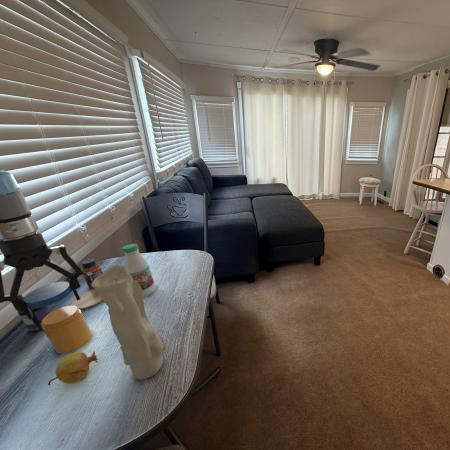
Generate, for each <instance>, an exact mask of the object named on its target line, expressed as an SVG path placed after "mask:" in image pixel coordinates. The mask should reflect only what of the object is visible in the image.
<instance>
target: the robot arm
mask: <svg viewBox="0 0 450 450" xmlns="http://www.w3.org/2000/svg"><path fill="white" fill-rule="evenodd" d="M39 228H40V227H39V226H38V223H37V222H36V219H35V217H34V215H33V213H32V211H31V208H30V207H29V204H28V202H27V200H26V198H25V196H24V194H23V192H22V189H21V186H20V184H19V183H18V182H17V181H16V179H15V176H14V175H13V173H11V172H10V171H7V170H0V252H1V254H2V256H3V260H0V304H2V303H4V302H9V303H11V304H12V306H13V308H14V309H15V311H17V312H18V311H19V310H21V309H23V310H24V312H25V313H26V315H27V317H28V319H29V320H30V319H33V314H32V312H31V310H30V309H29V308H28V307H27V306H26V304H25V302H24V298H23V297H24V296H23V295H22V294H19V292H20V289H21V284H22V280H23V277H24V275H25V271H26V272H28V271H31V270H34V269H36V268H41V267H44V266H46V267H47V268H51V269H52V270H54V271H55V272H58V273H59V274H61V275H63V276H65V277H66V280H67V282H68V283H69V284H70V286H71V288H72V293H73V295H74V297H75V298H76V299H77V301H78V300H80V297H79V296H80V294H79V293H78V290H77V289H79V288H81V284H80V282H79V280H78V278H79V276H82V275H83V273H84V272H83V271H82V267H80V266H79V265H78V263H77V262H76V261H75V260H74V259H73V258H72V257H71V255H70V254H68V252H67V248H66V246H65V245H64V244H59V245H56V246H53V247H51V246H48V244H47V242H46V240H45V239H44V236H43V234H42V232H41V231H40V230H39ZM52 253H55V255H61V257H62V259H63V260H64V261H65V262H66V263H67V264H68V265H69V266H70V267H71V268H72V269H73V270H74V272H73V271H71V270H70V269H68V268H66V267H65V266H63V265H61V264H59V263H58V262H56V261H54V260H53V259H51V258H50V257H51V255H52ZM5 266H8V267H11V268H14V269H15V272H14V276H13V279H12V283H11V287H10V291H9V293H8V294H6V293H5V288H4V281H3V273H2V272H3V271H4V269H5Z"/></svg>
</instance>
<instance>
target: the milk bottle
mask: <svg viewBox="0 0 450 450" xmlns="http://www.w3.org/2000/svg"><path fill="white" fill-rule="evenodd" d="M122 252H123V254H124V255H125V258H124V259H125V260H124V263H123V265H124V266H126V267H127V269H128V273H129V275H131V276H132V278H133V280H134V281H135V280H137V282H138V283H139V285H140V287H141V288H142V291H143V297H145V296H148V295H150V294H151V293H153V292H154V291H155V290H156V284H155V280H154V277H153V275H152V270H151V268H150V266H149V262H148V260H147V259H146V258H145V256H143V255H142V254H141V253H140V251H139V246H138V244H137V243H130V244H126V245H125V246H123V247H122Z"/></svg>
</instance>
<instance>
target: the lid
mask: <svg viewBox="0 0 450 450" xmlns="http://www.w3.org/2000/svg"><path fill="white" fill-rule="evenodd" d="M71 293H73V291H72V288H71V286H70V284H69V282H68V281H56V282H51V283H48V284H45V285H43V286H40V287H37V288H35V289H33V290H31V291H30V292H28V293H27V294H26V295H25V296H24V297H25V298H24V302H25V304H26V306H27V307H28V308H41V307H45V306H51V305H54V304H57V303H59V302H60V301H62V300H64V299H66V298H67V297H68V296H70V295H71Z"/></svg>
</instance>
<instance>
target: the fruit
mask: <svg viewBox="0 0 450 450" xmlns="http://www.w3.org/2000/svg"><path fill="white" fill-rule="evenodd" d="M97 357H98V354H96V352H95V351H93V352H92V353H91V355H90V356H87V354H86V352H83V351H76V352H72V353H70V354H67V355H66V356H64V357H63V358H61V360H60V361H59V362H57V366H56V369H55V377H54V378H52V379H50V380H49V381H48V383H47V385H48V386H51V383H52V382H53V381H54V380H57V379H58V380H59V381H60V382H62V383H65V384H74V383H77V382H80V381H81V380H83V379H85V378H86V376H87V375H88V374H89V372H90V364H91V363H92V362H95V363H98V360H99V359H98V358H97Z"/></svg>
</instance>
